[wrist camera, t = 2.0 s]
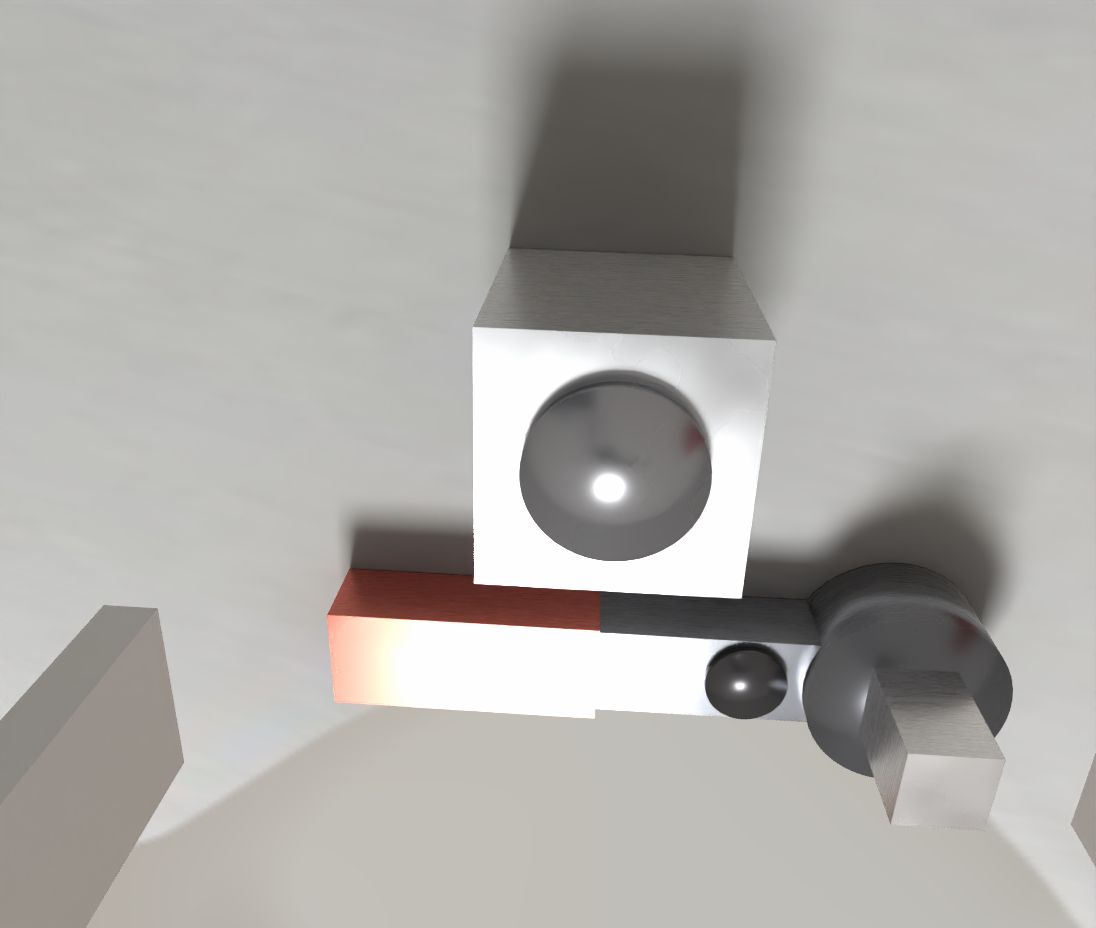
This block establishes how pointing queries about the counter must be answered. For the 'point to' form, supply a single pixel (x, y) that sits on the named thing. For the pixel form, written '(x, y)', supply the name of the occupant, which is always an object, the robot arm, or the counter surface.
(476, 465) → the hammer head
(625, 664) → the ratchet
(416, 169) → the counter surface
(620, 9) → the counter surface
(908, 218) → the counter surface
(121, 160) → the counter surface
